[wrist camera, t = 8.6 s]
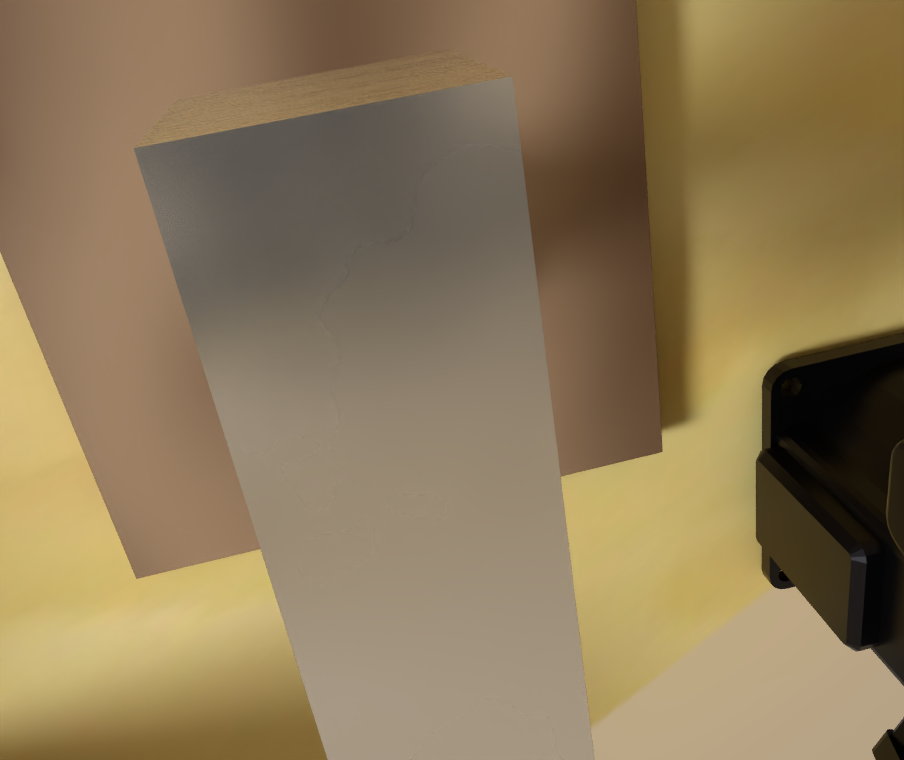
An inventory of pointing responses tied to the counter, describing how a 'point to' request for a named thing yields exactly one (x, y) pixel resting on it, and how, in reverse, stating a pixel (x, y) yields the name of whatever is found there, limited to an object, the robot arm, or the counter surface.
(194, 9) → the walnut board
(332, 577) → the t key
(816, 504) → the robot arm
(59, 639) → the counter surface
